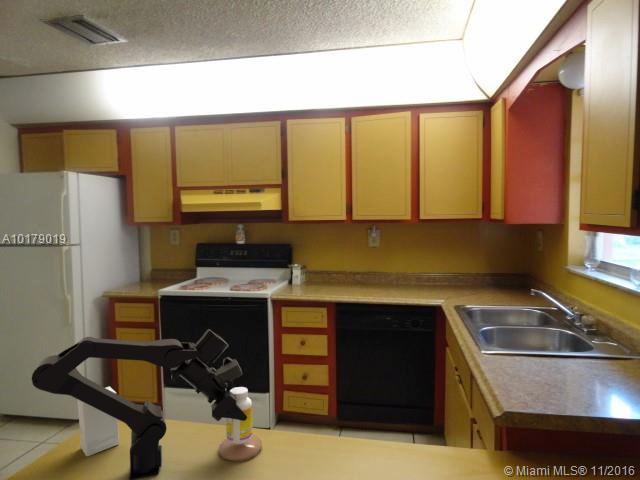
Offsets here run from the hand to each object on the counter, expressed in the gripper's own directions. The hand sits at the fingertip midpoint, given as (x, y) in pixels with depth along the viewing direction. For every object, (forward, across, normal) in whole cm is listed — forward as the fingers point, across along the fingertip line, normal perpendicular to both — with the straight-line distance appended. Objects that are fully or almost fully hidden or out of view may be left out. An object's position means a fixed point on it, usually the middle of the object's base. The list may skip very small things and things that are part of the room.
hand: (244, 413), depth 104 cm
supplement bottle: (+4, 0, +6) cm, 7 cm away
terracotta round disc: (+6, 0, +8) cm, 10 cm away
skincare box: (-19, +14, +33) cm, 41 cm away
